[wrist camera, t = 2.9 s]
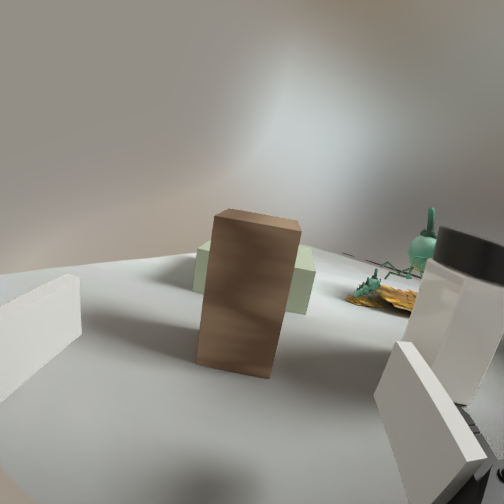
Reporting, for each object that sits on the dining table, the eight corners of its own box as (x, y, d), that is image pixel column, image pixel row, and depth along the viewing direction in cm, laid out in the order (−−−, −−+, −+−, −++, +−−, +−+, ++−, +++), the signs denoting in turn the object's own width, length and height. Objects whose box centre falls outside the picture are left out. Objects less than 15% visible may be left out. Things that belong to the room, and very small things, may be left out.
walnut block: (272, 343, 25) (297, 220, 23) (269, 378, 20) (301, 231, 18) (211, 331, 25) (228, 208, 23) (196, 363, 20) (214, 215, 18)
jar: (494, 397, 18) (549, 260, 15) (432, 415, 17) (499, 245, 14) (440, 350, 27) (477, 234, 24) (378, 353, 25) (417, 218, 22)
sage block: (303, 282, 43) (310, 247, 42) (304, 317, 32) (315, 271, 31) (218, 265, 45) (223, 231, 43) (191, 294, 33) (197, 248, 32)
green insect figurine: (337, 284, 45) (369, 185, 41) (437, 315, 43) (470, 227, 40) (345, 308, 35) (387, 185, 32) (462, 341, 34) (503, 236, 30)
